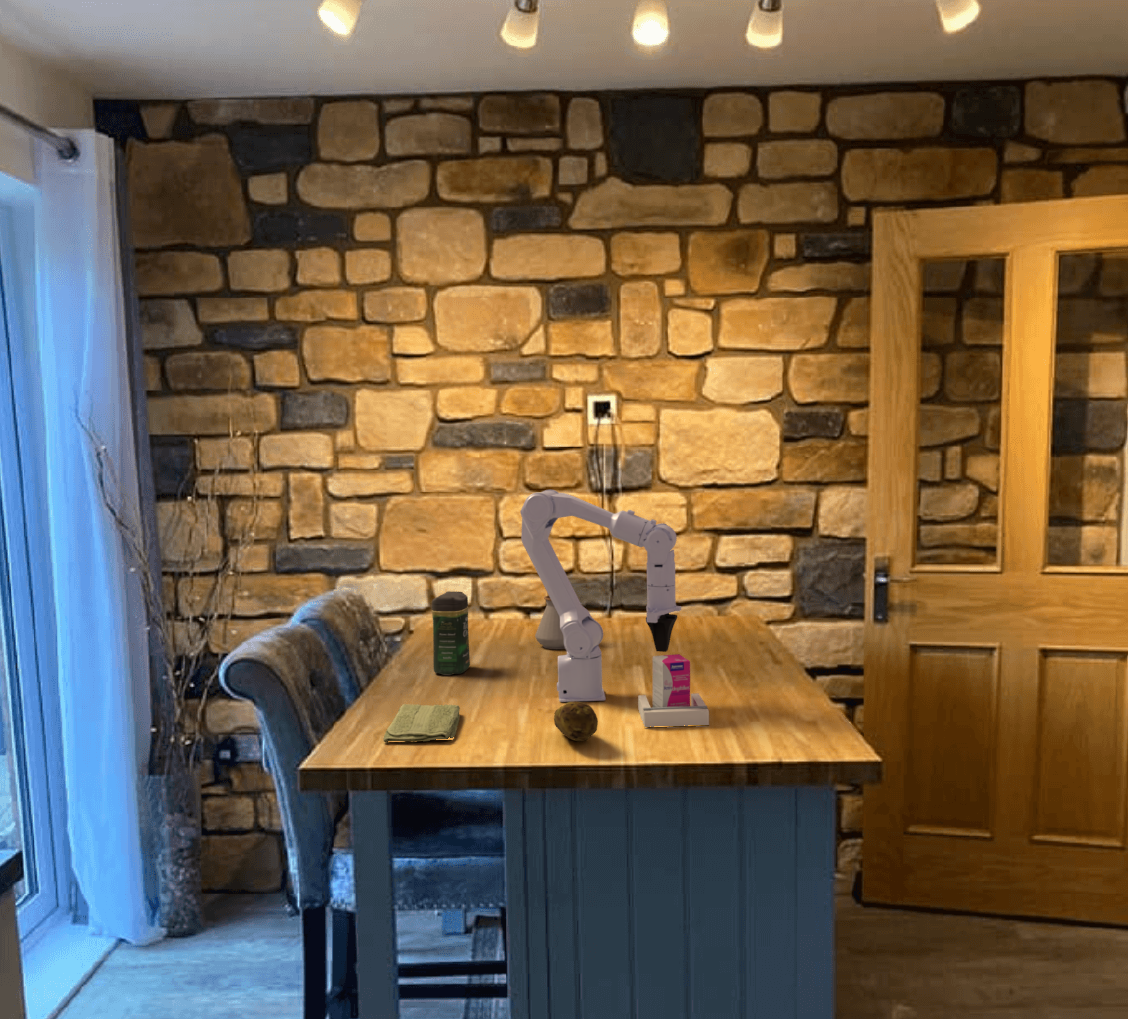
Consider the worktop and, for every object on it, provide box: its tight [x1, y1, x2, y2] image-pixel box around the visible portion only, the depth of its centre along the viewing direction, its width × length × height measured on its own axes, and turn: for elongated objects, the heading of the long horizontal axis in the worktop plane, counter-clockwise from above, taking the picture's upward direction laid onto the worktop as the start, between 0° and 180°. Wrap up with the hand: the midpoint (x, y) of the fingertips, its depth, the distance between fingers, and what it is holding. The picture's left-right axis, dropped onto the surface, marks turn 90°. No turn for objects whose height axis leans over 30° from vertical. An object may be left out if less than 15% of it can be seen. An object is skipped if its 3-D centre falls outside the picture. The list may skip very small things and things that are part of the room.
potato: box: [553, 701, 599, 742], centre depth 167 cm, size 8×13×8 cm, turn 176°
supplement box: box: [652, 653, 691, 707], centre depth 180 cm, size 6×6×12 cm
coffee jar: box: [431, 591, 471, 676], centre depth 219 cm, size 10×8×19 cm
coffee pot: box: [534, 595, 566, 650], centre depth 246 cm, size 21×12×15 cm, turn 3°
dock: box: [637, 692, 710, 727], centre depth 179 cm, size 12×11×3 cm
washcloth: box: [382, 703, 461, 743], centre depth 177 cm, size 13×18×3 cm
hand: (662, 650), depth 190 cm, fingers closed
